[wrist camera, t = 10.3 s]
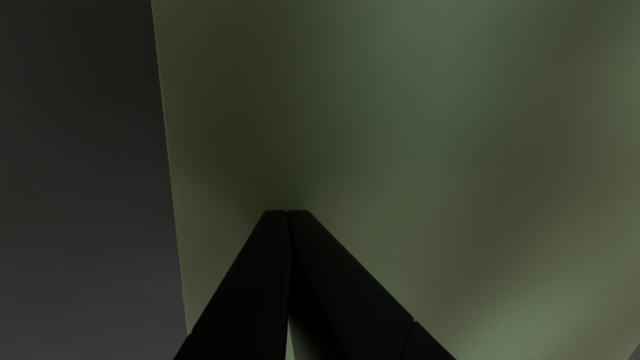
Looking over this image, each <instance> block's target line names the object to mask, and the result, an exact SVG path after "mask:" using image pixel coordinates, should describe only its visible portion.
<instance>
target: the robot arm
mask: <svg viewBox="0 0 640 360" xmlns="http://www.w3.org/2000/svg"><path fill="white" fill-rule="evenodd" d="M288 321H289V329H290V336H291V341H292V347H293V352H294V357H295V360H457V359H456V358H455V357H453V356H452V355H451V354H450V353H449V352H448V351H447V350H446V349H445V348H444V347H443V346H442V345H441V344H440V343H439V342H438V341H437V340H436V339H435V338H434V337H433V336H432V335H431V334H430V333H429V332H428V331H427V330H426V329H425V328H424V327H423V326H422V325H421V324H420V323H419V322H418V321H414V317H413V316H412V315H411V314H410V313H409V312H408V311H407V310H406V309H405V308H404V307H403V306H402V305H401V304H400V303H399V302H398V301H397V300H396V299H395V298H394V297H393V296H392V295H391V294H390V293H389V292H388V291H387V290H386V289H385V288H384V287H383V286H382V285H381V284H380V283H379V282H378V281H377V280H376V279H375V277H374V276H373V275H372V274H371V273H370V272H369V271H368V270H367V269H366V268H365V267H364V266H363V265H362V264H361V263H360V262H359V261H358V260H357V259H356V258H355V257H354V256H353V255H352V254H351V253H350V252H349V251H348V250H347V249H346V248H345V247H344V246H343V245H342V244H341V243H340V242H339V241H338V240H337V239H336V238H335V237H334V236H333V235H332V234H331V233H330V232H329V231H328V230H327V229H326V228H325V227H324V226H323V225H322V224H321V223H320V222H319V221H318V219H317V218H316V217H315V216H314V215H313V214H312V213H311V212H310V211H308V210H289V211H288V212H287V213H286V211H284V210H266V211H265V212H264V213H263V214H262V216H261V217H260V219H259V221H258V222H257V224H256V226H255V227H254V229H253V230H252V232H251V234H250V235H249V237H248V239H247V240H246V242H245V244H244V245H243V247H242V248H241V250H240V252H239V253H238V255H237V257H236V258H235V260H234V261H233V263H232V265H231V266H230V268H229V270H228V271H227V273H226V275H225V276H224V278H223V279H222V281H221V283H220V284H219V286H218V288H217V289H216V291H215V293H214V294H213V296H212V297H211V299H210V301H209V302H208V304H207V306H206V307H205V309H204V311H203V312H202V314H201V315H200V317H199V319H198V320H197V322H196V324H195V325H194V327H193V328H192V331H191V333H190V334H189V335H188V336H187V338H186V339H185V341H184V343H183V344H182V346H181V348H180V349H179V351H178V353H177V354H176V356H175V357H174V359H173V360H286V347H287V333H288Z"/></svg>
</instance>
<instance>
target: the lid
mask: <svg viewBox="0 0 640 360" xmlns="http://www.w3.org/2000/svg"><path fill="white" fill-rule="evenodd" d="M151 8H152V17H153V26H154V35H155V45H156V54H157V63H158V72H159V81H160V91H161V100H162V109H163V118H164V127H165V137H166V146H167V155H168V164H169V173H170V183H171V192H172V201H173V210H174V219H175V229H176V238H177V247H178V256H179V265H180V274H181V284H182V293H183V302H184V311H185V320H186V330H187V336H188V335H189V334H190V333H191V331H192V328H193V327H194V325H195V324H196V322H197V320H198V319H199V317H200V315H201V314H202V312H203V311H204V309H205V307H206V306H207V304H208V302H209V301H210V299H211V297H212V296H213V294H214V293H215V291H216V289H217V288H218V286H219V284H220V283H221V281H222V279H223V278H224V276H225V275H226V273H227V271H228V270H229V268H230V266H231V265H232V263H233V261H234V260H235V258H236V257H237V255H238V253H239V252H240V250H241V248H242V247H243V245H244V244H245V242H246V240H247V239H248V237H249V235H250V234H251V232H252V230H253V229H254V227H255V226H256V224H257V222H258V221H259V219H260V217H261V216H262V214H263V213H264V212H265V211H266V210H284V211H286V213H287V212H288V211H289V210H308V211H310V212H311V213H312V214H313V215H314V216H315V217H316V218H317V219H318V221H319V222H320V223H321V224H322V225H323V226H324V227H325V228H326V229H327V230H328V231H329V232H330V233H331V234H332V235H333V236H334V237H335V238H336V239H337V240H338V241H339V242H340V243H341V244H342V245H343V246H344V247H345V248H346V249H347V250H348V251H349V252H350V253H351V254H352V255H353V256H354V257H355V258H356V259H357V260H358V261H359V262H360V263H361V264H362V265H363V266H364V267H365V268H366V269H367V270H368V271H369V272H370V273H371V274H372V275H373V276H374V277H375V279H376V280H377V281H378V282H379V283H380V284H381V285H382V286H383V287H384V288H385V289H386V290H387V291H388V292H389V293H390V294H391V295H392V296H393V297H394V298H395V299H396V300H397V301H398V302H399V303H400V304H401V305H402V306H403V307H404V308H405V309H406V310H407V311H408V312H409V313H410V314H411V315H412V316H413V317H414V321H418V322H419V323H420V324H421V325H422V326H423V327H424V328H425V329H426V330H427V331H428V332H429V333H430V334H431V335H432V336H433V337H434V338H435V339H436V340H437V341H438V342H439V343H440V344H441V345H442V346H443V347H444V348H445V349H446V350H447V351H448V352H449V353H450V354H451V355H452V356H453V357H455V358H456V359H457V360H628V358H629V357H630V356H631V354H632V353H633V351H634V350H635V349H636V347H637V346H638V344H639V343H640V0H151ZM286 360H295V357H294V352H293V347H292V341H291V336H290V329H289V321H288V333H287V347H286Z"/></svg>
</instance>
